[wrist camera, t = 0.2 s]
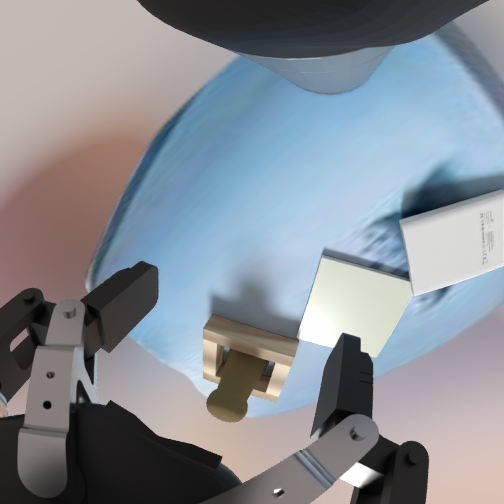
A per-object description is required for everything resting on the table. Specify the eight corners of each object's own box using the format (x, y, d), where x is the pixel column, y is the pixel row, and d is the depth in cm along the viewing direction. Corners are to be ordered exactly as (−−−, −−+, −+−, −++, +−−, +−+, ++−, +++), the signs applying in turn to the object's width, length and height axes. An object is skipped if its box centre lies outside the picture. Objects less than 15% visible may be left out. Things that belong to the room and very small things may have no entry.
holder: (212, 314, 37) (203, 328, 35) (298, 340, 35) (294, 357, 33) (210, 365, 44) (203, 378, 41) (280, 387, 41) (276, 402, 39)
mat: (322, 254, 28) (321, 257, 28) (417, 281, 26) (418, 284, 26) (297, 334, 35) (296, 337, 34) (376, 354, 33) (376, 357, 32)
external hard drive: (397, 218, 24) (501, 187, 19) (410, 289, 26) (504, 258, 21) (401, 224, 22) (509, 192, 17) (413, 298, 25) (510, 265, 20)
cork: (232, 335, 38) (199, 396, 29) (273, 349, 37) (249, 415, 28) (228, 359, 42) (199, 416, 32) (265, 372, 40) (241, 432, 31)
